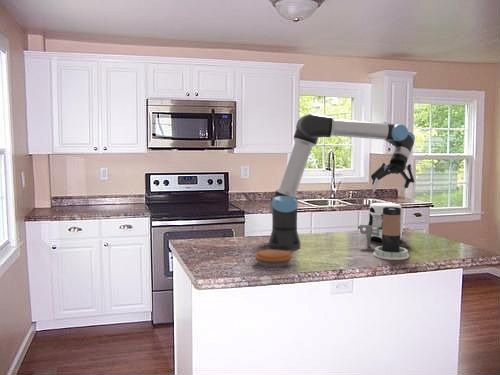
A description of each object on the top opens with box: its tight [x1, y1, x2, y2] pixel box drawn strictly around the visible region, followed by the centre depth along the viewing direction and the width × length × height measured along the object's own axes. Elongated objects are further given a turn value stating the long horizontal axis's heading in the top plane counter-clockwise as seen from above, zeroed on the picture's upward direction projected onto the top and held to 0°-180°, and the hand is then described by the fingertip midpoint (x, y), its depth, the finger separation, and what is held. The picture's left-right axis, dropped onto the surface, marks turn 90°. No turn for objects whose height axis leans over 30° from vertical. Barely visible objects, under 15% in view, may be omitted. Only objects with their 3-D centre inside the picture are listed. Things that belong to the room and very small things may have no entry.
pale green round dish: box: [372, 245, 410, 261], centre depth 202 cm, size 15×15×3 cm
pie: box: [254, 249, 294, 268], centre depth 189 cm, size 16×16×5 cm
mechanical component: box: [357, 224, 381, 248], centre depth 220 cm, size 3×10×10 cm, turn 79°
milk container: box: [367, 202, 404, 242], centre depth 234 cm, size 17×17×18 cm
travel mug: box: [381, 207, 402, 252], centre depth 202 cm, size 8×8×20 cm
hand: (387, 191), depth 215 cm, fingers open, 13 cm apart
